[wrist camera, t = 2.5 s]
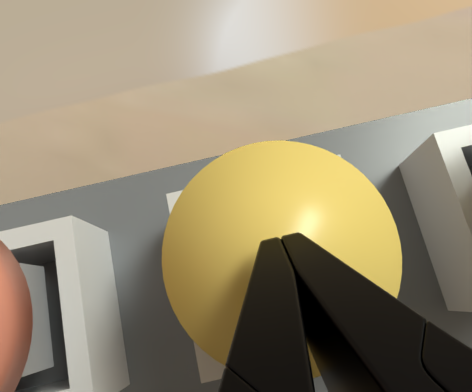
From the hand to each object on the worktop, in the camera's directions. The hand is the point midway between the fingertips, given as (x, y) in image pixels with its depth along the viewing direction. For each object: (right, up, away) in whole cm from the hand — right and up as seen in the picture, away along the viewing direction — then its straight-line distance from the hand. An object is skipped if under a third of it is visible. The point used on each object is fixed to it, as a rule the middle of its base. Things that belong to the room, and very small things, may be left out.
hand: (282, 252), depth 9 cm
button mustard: (0, -1, +5) cm, 5 cm away
